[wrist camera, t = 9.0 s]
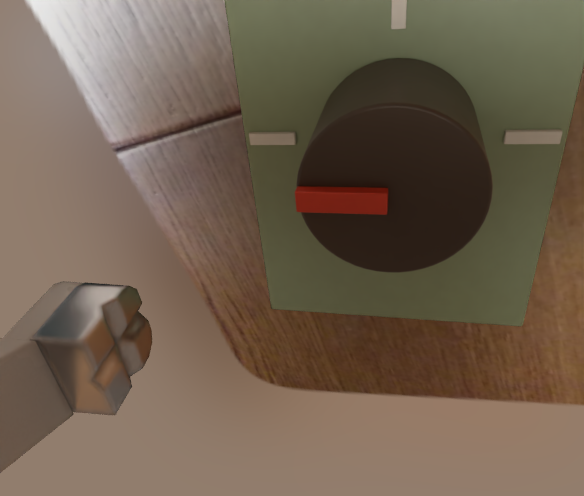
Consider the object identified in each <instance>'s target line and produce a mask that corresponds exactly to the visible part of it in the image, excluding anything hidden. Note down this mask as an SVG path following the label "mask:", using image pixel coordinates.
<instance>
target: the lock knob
mask: <svg viewBox="0 0 584 496" xmlns="http://www.w3.org/2000/svg"><path fill="white" fill-rule="evenodd" d="M296 185H297V188H296V190H295V201H296V211H297V212H301V214H302V217H303V219H304V221H305V223H306V225H307V227H308V228H309V230H310V231H311V233H312V234H313V235H314V237H315V238H316V239H317V240H318V241H319V243H321V244H322V245H323V246H324V247H325V248H326V249H327V250H328V251H330V252H331V253H332V254H334V255H335V256H337V257H339V258H340V259H342V260H344V261H346V262H348V263H350V264H352V265H355V266H358V267H361V268H364V269H368V270H373V271H378V272H388V273H400V272H410V271H415V270H420V269H424V268H427V267H430V266H433V265H436V264H438V263H440V262H442V261H445V260H446V259H448V258H450V257H451V256H453V255H455V254H456V253H457V252H458V251H460V250H461V249H462V248H464V247H465V246H466V245H467V244H468V243H469V242H470V241H471V240H472V238H473V237H474V236H475V235H476V233H477V232H478V231H479V229H480V228H481V226H482V224H483V222H484V221H485V219H486V216H487V214H488V211H489V208H490V204H491V200H492V191H493V182H492V173H491V169H490V165H489V161H488V157H487V153H486V150H485V146H484V142H483V138H482V134H481V131H480V127H479V123H478V119H477V115H476V112H475V108H474V106H473V103H472V101H471V98H470V97H469V95H468V93H467V92H466V90H465V89H464V88H463V86H462V85H461V84H460V83H459V82H458V81H457V80H456V79H455V78H454V77H453V76H452V75H450V74H449V73H447V72H446V71H444V70H443V69H441V68H439V67H437V66H435V65H433V64H431V63H428V62H424V61H421V60H416V59H410V58H394V59H386V60H381V61H377V62H374V63H371V64H369V65H366V66H364V67H362V68H360V69H358V70H356V71H355V72H353V73H352V74H351V75H349V76H348V77H346V78H345V79H344V80H343V81H342V82H341V83H340V84H339V85H338V86H337V87H336V89H335V90H334V91H333V92H332V94H331V95H330V97H329V98H328V100H327V102H326V104H325V106H324V109H323V111H322V113H321V116H320V118H319V120H318V123H317V125H316V127H315V130H314V132H313V134H312V137H311V139H310V141H309V144H308V146H307V149H306V151H305V153H304V156H303V158H302V160H301V163H300V167H299V170H298V175H297V183H296Z"/></svg>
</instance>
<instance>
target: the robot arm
mask: <svg viewBox="0 0 584 496" xmlns="http://www.w3.org/2000/svg"><path fill="white" fill-rule="evenodd" d="M141 304H142V301H141V299H140V296H139V294H138V291H137V289H135V288H133V287H131V286H123V285H110V284H96V283H77V282H60V283H57V284H54V285H53V286H52V287H51V288H50V289H49V290H48V291H47V292H46V293H45V294H44V295H43V296H42V297H41V298H40V300H38V302H37V303H36V304H35V305H34V306H33V307H32V308H31V309H30V310H29V311H28V312H27V313H26V314H25V315H24V316H23V317H22V318H21V319H20V320H19V321H18V322H17V324H16V325H15V326H14V327H13V328H12V329H11V330H10V331H9V332H8V333H7V334H6V335H5V336H4V337H3V338H0V473H1V472H2V471H3V470H4V469H6V468H7V467H8V466H9V465H11V464H12V463H13V462H15V461H16V460H17V459H18V458H20V457H21V456H22V455H23V454H25V453H26V452H27V451H28V450H30V449H31V448H32V447H33V446H35V445H36V444H37V443H38V442H40V441H41V440H42V439H43V438H45V437H46V436H47V435H48V434H50V433H51V432H52V431H53V430H55V429H56V428H57V427H58V426H60V425H61V424H62V423H63V422H65V421H66V420H67V419H69V418H70V417H71V416H72V415H73V412H80V413H92V414H104V415H115V414H116V413H117V411H118V410H119V408H120V406H121V404H122V403H123V401H124V399H125V398H126V396H127V394H128V392H129V391H130V389H131V387H132V385H131V380H130V376H132V375H133V374H135V373H136V372H137V371H139V370H141V369H142V368H143V366H144V365H145V363H146V361H147V359H148V357H149V354H150V350H151V345H152V331H151V327H150V324H149V321H148V320H147V319H146V318H145V317H144V316H143V315H142V314H141V313H139V312H138V310H139V308H140V306H141Z"/></svg>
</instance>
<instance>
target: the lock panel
mask: <svg viewBox="0 0 584 496" xmlns="http://www.w3.org/2000/svg"><path fill="white" fill-rule="evenodd" d="M224 1H225V8H226V14H227V21H228V27H229V34H230V41H231V47H232V54H233V60H234V67H235V73H236V80H237V87H238V93H239V100H240V106H241V113H242V119H243V126H244V132H245V139H246V146H247V152H248V159H249V165H250V172H251V178H252V185H253V192H254V198H255V205H256V211H257V218H258V224H259V231H260V238H261V244H262V251H263V257H264V264H265V270H266V277H267V284H268V290H269V297H270V303H271V308H272V309H278V310H292V311H307V312H321V313H336V314H350V315H364V316H379V317H393V318H407V319H422V320H436V321H451V322H465V323H479V324H494V325H508V326H523V322H524V318H525V313H526V309H527V305H528V301H529V297H530V292H531V288H532V284H533V280H534V275H535V271H536V267H537V263H538V258H539V254H540V250H541V246H542V241H543V237H544V233H545V229H546V224H547V220H548V216H549V212H550V207H551V203H552V199H553V195H554V191H555V186H556V182H557V178H558V174H559V169H560V165H561V161H562V157H563V152H564V148H565V144H566V140H567V135H568V131H569V127H570V123H571V118H572V114H573V110H574V106H575V101H576V97H577V93H578V89H579V84H580V80H581V76H582V72H583V68H584V0H224ZM394 58H410V59H416V60H421V61H424V62H428V63H431V64H433V65H435V66H437V67H439V68H441V69H443V70H444V71H446V72H447V73H449V74H450V75H452V76H453V77H454V78H455V79H456V80H457V81H458V82H459V83H460V84H461V85H462V86H463V88H464V89H465V90H466V92H467V93H468V95H469V97H470V98H471V101H472V103H473V106H474V108H475V112H476V115H477V119H478V123H479V127H480V131H481V134H482V138H483V142H484V146H485V150H486V153H487V157H488V161H489V165H490V169H491V173H492V182H493V191H492V200H491V204H490V208H489V211H488V214H487V216H486V219H485V221H484V222H483V224H482V226H481V228H480V229H479V231H478V232H477V233H476V235H475V236H474V237H473V238H472V240H471V241H470V242H469V243H468V244H467V245H466V246H465V247H464V248H462V249H461V250H460V251H458V252H457V253H456V254H455V255H453V256H451V257H450V258H448V259H446V260H445V261H442V262H440V263H438V264H436V265H433V266H430V267H427V268H424V269H420V270H415V271H410V272H400V273H388V272H378V271H373V270H368V269H364V268H361V267H358V266H355V265H352V264H350V263H348V262H346V261H344V260H342V259H340V258H339V257H337V256H335V255H334V254H332V253H331V252H330V251H328V250H327V249H326V248H325V247H324V246H323V245H322V244H321V243H319V241H318V240H317V239H316V238H315V237H314V235H313V234H312V233H311V231H310V230H309V228H308V227H307V225H306V223H305V221H304V219H303V217H302V214H301V212H297V211H296V201H295V190H296V188H297V185H296V183H297V175H298V170H299V167H300V163H301V160H302V158H303V156H304V153H305V151H306V149H307V146H308V144H309V141H310V139H311V137H312V134H313V132H314V130H315V127H316V125H317V123H318V120H319V118H320V116H321V113H322V111H323V109H324V106H325V104H326V102H327V100H328V98H329V97H330V95H331V94H332V92H333V91H334V90H335V89H336V87H337V86H338V85H339V84H340V83H341V82H342V81H343V80H344V79H345V78H346V77H348V76H349V75H351V74H352V73H353V72H355V71H356V70H358V69H360V68H362V67H364V66H366V65H369V64H371V63H374V62H377V61H381V60H386V59H394Z"/></svg>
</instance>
